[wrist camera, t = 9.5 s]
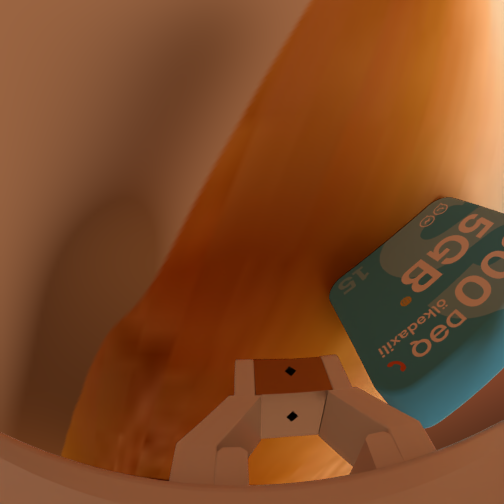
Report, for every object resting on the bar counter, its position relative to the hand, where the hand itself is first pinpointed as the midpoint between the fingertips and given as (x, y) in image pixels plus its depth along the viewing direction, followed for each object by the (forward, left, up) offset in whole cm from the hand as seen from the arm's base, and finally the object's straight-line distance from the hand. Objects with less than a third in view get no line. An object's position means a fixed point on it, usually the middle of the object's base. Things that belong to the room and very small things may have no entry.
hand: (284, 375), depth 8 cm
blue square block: (-1, -11, -13) cm, 17 cm away
